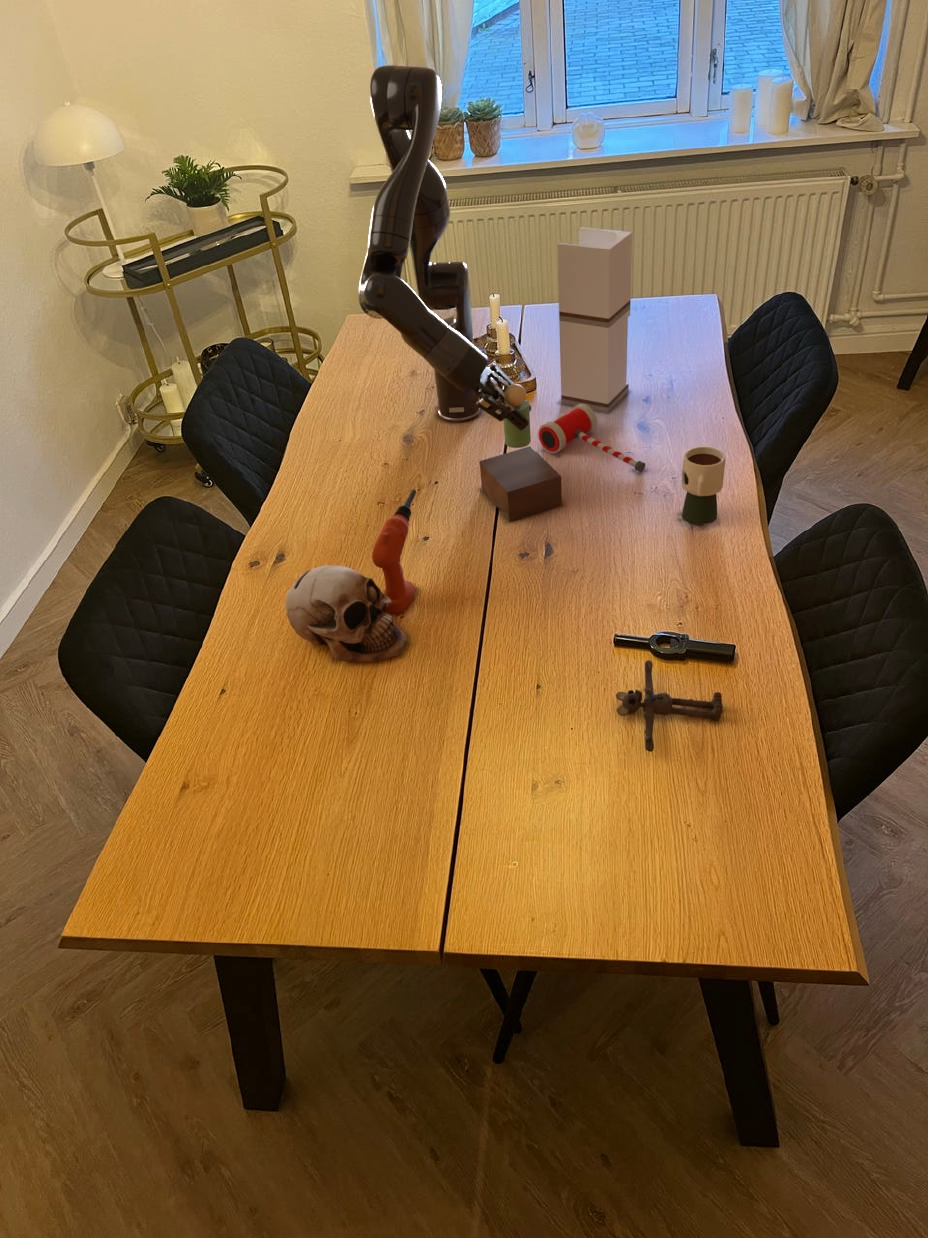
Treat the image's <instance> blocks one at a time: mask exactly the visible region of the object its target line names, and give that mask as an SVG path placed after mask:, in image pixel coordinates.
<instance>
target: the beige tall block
mask: <svg viewBox="0 0 928 1238" xmlns="http://www.w3.org/2000/svg"><path fill="white" fill-rule="evenodd" d="M578 231H579V244H578V243H567V242H560V241H559V242H558V243H556V245H557V246H556V248H557V249H556V250H557V284H558V285H557V286H558V289H557V290H558V320H559V321H558V324H559V325H558V326H559V327H558V328H559V358H560V359H559V360H560V361H559V363H560V365H559V366H560V398H561V399H560V400H561V401H560V403H561V404H562V405H568V406H573V407H575V406H577V405H578V404H586V405H588V406H589V407H590V408H591V409H592V410H593V411H597V412H601V413H602V412H603V413H607V414H608V413H609V412H610V411H611V410H612V409H613V408H614V407H615V406H616V405H617V404H618V403H619V402H620V401H621V400H622V399H623V398H625V396H626V395H627V394H628V393H629V383H628V382H627V379H628V378H627V376H628V375H627V373H628V371H627V370H628V334H629V333H628V331H629V317H630V316H631V303H632V302H631V300H632V297H631V295H632V292H631V291H632V259H633V257H632V256H633V231H627V230H626V231H625V230H618V229H617V230H615V229H605V228H597V227H596V228H595V227H583V226H581V227H579V229H578Z"/></svg>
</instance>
